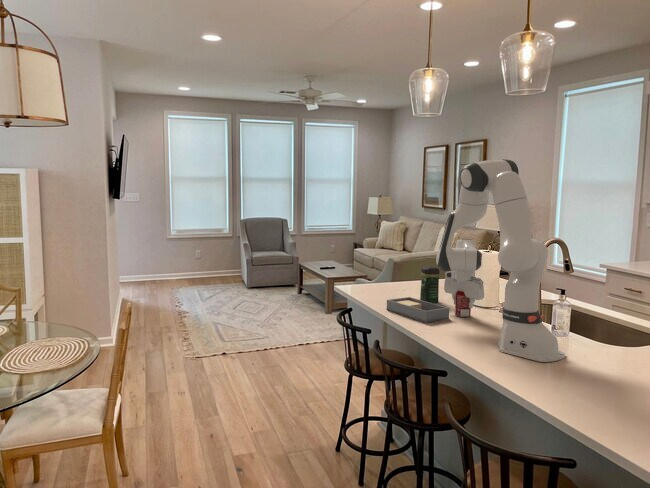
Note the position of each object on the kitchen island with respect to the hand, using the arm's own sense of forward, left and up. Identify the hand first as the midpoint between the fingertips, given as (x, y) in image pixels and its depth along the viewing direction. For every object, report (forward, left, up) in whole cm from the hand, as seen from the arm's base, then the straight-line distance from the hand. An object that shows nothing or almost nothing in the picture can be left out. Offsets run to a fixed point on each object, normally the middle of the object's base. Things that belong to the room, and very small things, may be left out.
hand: (462, 306), depth 217 cm
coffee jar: (+27, -6, -5) cm, 28 cm away
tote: (+12, +16, -5) cm, 21 cm away
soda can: (0, 0, -5) cm, 5 cm away
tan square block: (+19, +16, -4) cm, 25 cm away
